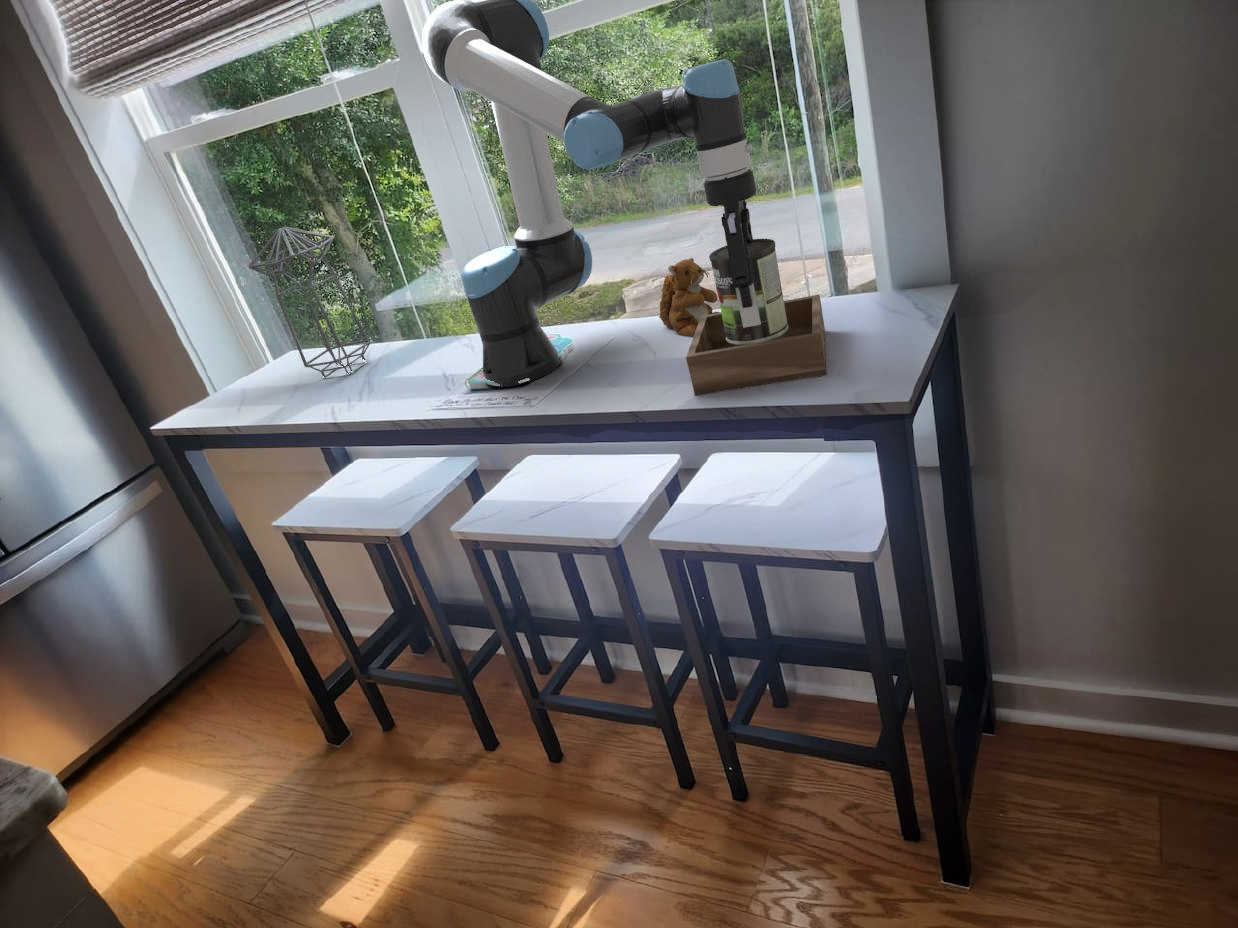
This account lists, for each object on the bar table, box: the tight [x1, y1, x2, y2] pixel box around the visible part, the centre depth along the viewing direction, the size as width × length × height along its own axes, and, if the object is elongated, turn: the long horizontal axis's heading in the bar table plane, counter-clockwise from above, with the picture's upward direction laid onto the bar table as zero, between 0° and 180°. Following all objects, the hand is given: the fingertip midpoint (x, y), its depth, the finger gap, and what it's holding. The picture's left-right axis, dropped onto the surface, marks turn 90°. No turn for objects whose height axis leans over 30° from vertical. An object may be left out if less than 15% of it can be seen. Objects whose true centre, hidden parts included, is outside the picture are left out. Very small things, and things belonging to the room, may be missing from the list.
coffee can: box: [708, 238, 789, 345], centre depth 136 cm, size 10×10×14 cm
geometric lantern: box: [248, 226, 371, 377], centre depth 197 cm, size 16×16×35 cm
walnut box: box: [685, 294, 828, 397], centre depth 139 cm, size 20×20×6 cm
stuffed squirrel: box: [658, 257, 721, 337], centre depth 166 cm, size 10×14×13 cm
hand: (754, 314), depth 137 cm, fingers closed on coffee can, 10 cm apart
